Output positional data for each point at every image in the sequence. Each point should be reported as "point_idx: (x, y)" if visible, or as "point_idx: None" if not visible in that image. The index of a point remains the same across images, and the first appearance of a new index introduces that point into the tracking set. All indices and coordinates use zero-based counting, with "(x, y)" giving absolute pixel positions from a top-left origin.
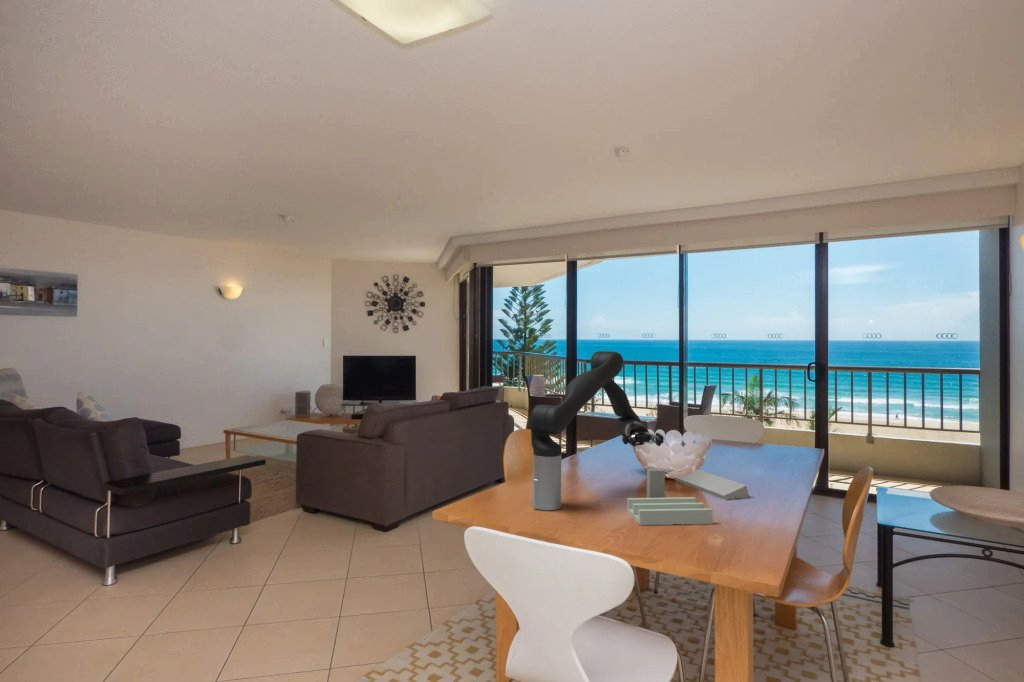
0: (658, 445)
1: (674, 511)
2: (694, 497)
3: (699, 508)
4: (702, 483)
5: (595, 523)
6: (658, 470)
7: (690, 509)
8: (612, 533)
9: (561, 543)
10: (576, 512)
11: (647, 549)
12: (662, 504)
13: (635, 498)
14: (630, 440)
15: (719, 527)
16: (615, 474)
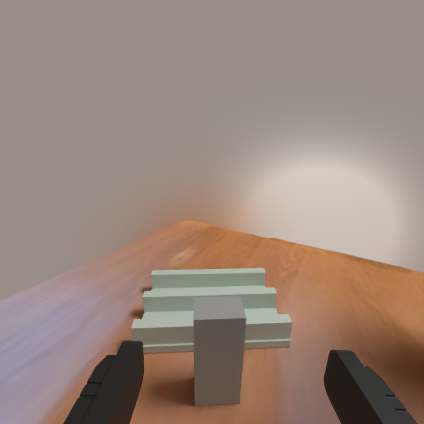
0: (142, 371)
1: (211, 270)
2: (132, 326)
3: (168, 274)
4: None
5: (328, 291)
6: (212, 299)
7: (185, 271)
8: (294, 267)
9: (338, 252)
10: (394, 339)
11: (255, 244)
12: (222, 289)
13: (273, 320)
14: (412, 419)
15: None
16: None
